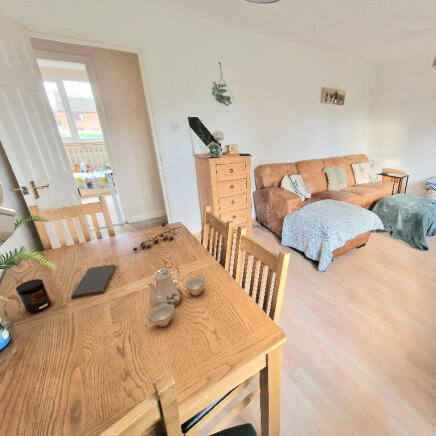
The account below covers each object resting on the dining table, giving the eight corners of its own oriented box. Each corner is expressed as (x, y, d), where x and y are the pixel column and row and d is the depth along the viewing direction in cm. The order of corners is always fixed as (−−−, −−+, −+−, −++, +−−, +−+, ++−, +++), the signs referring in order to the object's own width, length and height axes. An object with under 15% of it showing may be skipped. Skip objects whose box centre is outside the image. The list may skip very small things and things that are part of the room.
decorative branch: (131, 243, 123) (171, 213, 147) (129, 253, 128) (168, 222, 152) (150, 255, 124) (186, 223, 148) (147, 264, 129) (183, 232, 153)
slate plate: (72, 298, 94) (71, 295, 93) (90, 270, 111) (89, 267, 110) (103, 293, 97) (102, 290, 97) (115, 266, 114) (114, 264, 114)
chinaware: (166, 341, 80) (163, 303, 73) (124, 326, 83) (118, 288, 76) (211, 289, 105) (212, 257, 99) (178, 279, 108) (176, 247, 101)
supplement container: (43, 299, 92) (34, 277, 88) (57, 303, 91) (47, 281, 87) (21, 312, 86) (10, 288, 82) (35, 316, 85) (24, 292, 81)
